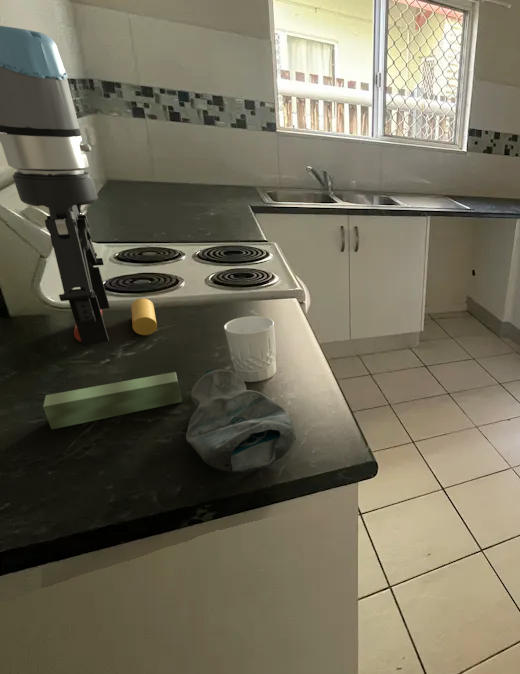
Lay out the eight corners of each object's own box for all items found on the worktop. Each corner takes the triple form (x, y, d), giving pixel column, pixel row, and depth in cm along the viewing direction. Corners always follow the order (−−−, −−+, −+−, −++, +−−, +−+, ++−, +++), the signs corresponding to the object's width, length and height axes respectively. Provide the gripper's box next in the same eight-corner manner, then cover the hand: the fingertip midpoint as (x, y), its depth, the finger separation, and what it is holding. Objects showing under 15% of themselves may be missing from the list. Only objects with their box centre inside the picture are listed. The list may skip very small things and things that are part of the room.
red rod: (103, 341, 94) (98, 322, 92) (77, 344, 92) (71, 326, 90) (104, 319, 102) (99, 302, 101) (80, 322, 100) (75, 305, 98)
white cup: (283, 378, 87) (277, 329, 83) (235, 388, 83) (226, 336, 79) (275, 360, 93) (269, 313, 89) (229, 368, 89) (221, 319, 85)
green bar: (51, 429, 69) (42, 406, 67) (53, 417, 71) (45, 395, 70) (182, 402, 78) (177, 381, 76) (180, 392, 80) (175, 371, 79)
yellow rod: (158, 333, 99) (154, 315, 97) (135, 336, 97) (130, 318, 95) (155, 313, 108) (151, 297, 106) (133, 316, 105) (129, 299, 104)
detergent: (309, 457, 68) (261, 379, 85) (301, 418, 65) (252, 345, 82) (206, 500, 61) (175, 405, 78) (191, 458, 57) (162, 368, 74)
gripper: (86, 185, 53) (131, 353, 62) (94, 160, 71) (128, 294, 80) (-9, 185, 49) (54, 366, 58) (25, 159, 67) (69, 300, 75)
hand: (97, 324), depth 69 cm, fingers open, 13 cm apart
